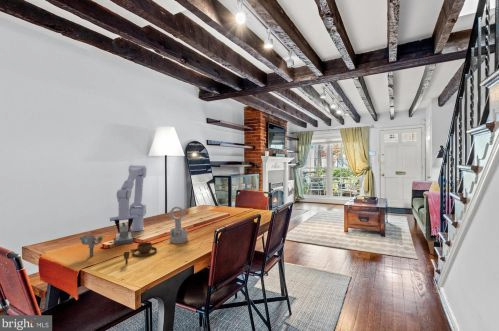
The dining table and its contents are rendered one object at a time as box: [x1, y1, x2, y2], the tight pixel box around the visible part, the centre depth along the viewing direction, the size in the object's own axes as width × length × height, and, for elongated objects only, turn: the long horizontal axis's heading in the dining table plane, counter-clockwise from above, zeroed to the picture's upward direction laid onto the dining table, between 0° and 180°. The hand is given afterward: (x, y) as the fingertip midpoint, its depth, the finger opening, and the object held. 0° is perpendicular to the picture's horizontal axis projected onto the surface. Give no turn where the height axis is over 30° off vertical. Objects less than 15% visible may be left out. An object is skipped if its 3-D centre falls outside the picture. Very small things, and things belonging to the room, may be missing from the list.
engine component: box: [169, 205, 188, 244], centre depth 153 cm, size 11×20×10 cm
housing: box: [118, 222, 129, 237], centre depth 150 cm, size 8×4×7 cm, turn 28°
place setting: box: [123, 241, 158, 265], centre depth 129 cm, size 18×20×6 cm
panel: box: [114, 231, 134, 246], centre depth 151 cm, size 14×9×2 cm, turn 28°
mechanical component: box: [79, 234, 103, 258], centre depth 126 cm, size 3×10×10 cm, turn 89°
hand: (123, 232), depth 151 cm, fingers closed on housing, 4 cm apart
